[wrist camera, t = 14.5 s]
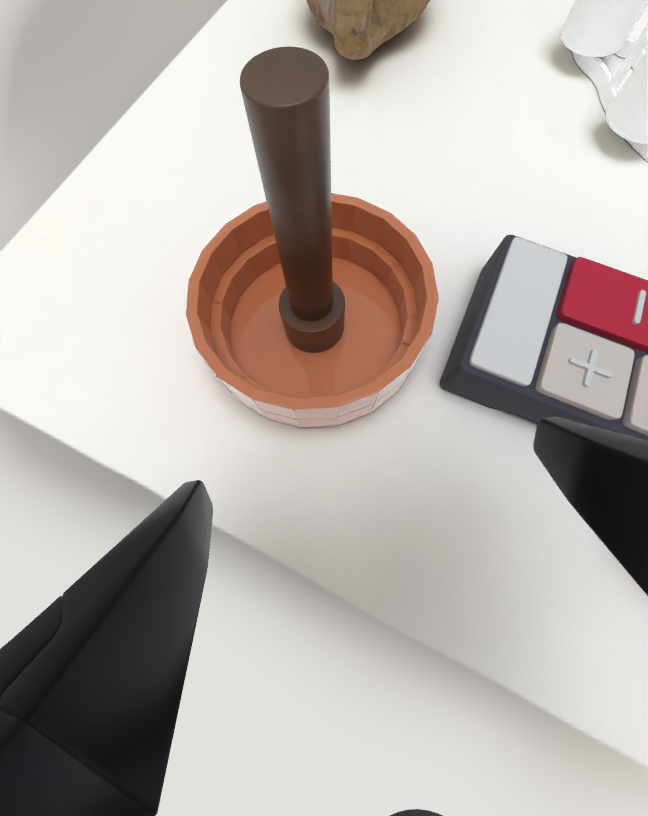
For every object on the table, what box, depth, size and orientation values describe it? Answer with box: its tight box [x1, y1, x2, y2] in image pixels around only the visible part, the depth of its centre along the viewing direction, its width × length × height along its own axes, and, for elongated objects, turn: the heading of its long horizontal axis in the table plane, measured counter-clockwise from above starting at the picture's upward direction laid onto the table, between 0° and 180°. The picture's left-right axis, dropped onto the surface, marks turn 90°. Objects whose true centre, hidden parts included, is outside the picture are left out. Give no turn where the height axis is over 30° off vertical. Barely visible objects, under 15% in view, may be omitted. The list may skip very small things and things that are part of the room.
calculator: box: [440, 235, 648, 441], centre depth 22 cm, size 11×4×15 cm
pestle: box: [240, 47, 345, 353], centre depth 17 cm, size 4×4×15 cm
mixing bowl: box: [186, 193, 438, 428], centre depth 23 cm, size 15×15×5 cm
